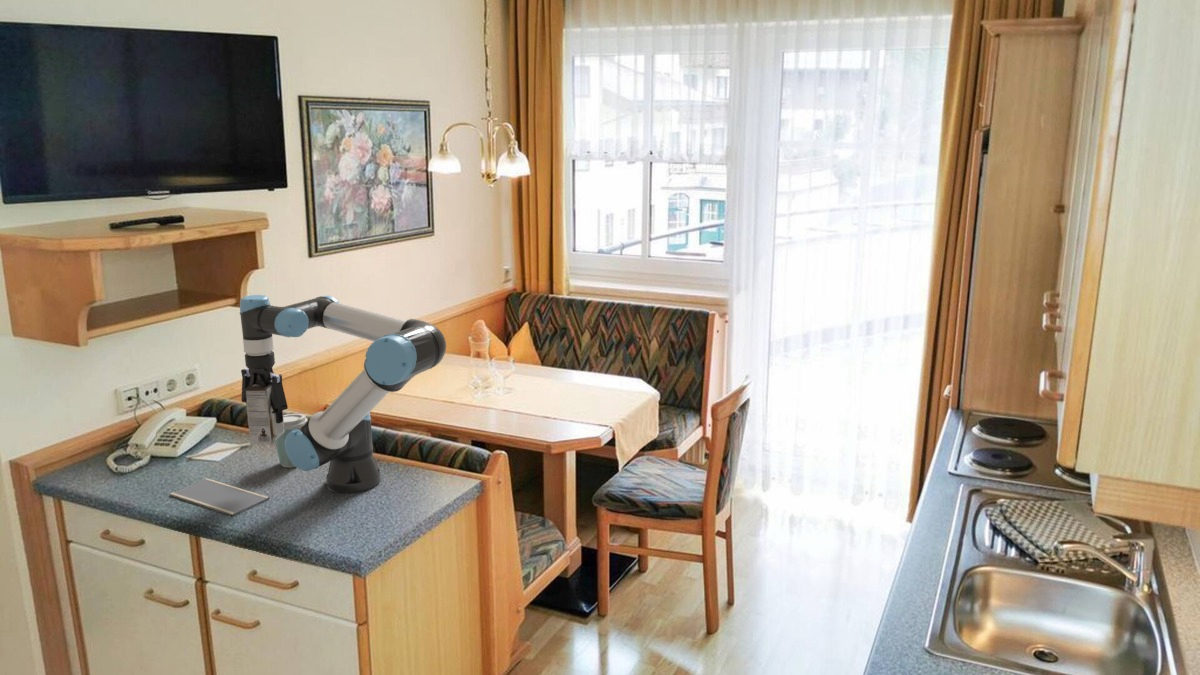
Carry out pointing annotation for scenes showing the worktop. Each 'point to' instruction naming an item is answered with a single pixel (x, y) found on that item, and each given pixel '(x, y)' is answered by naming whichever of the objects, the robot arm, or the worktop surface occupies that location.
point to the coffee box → (260, 414)
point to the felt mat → (219, 496)
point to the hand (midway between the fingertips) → (266, 430)
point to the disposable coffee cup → (289, 424)
